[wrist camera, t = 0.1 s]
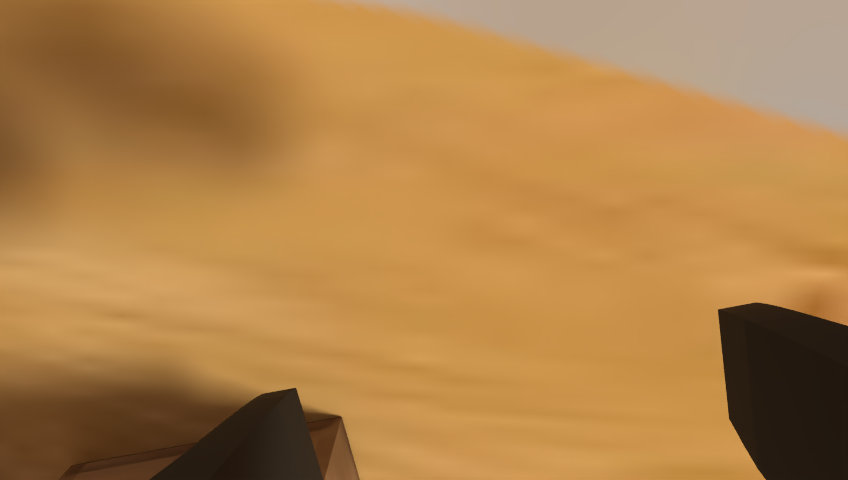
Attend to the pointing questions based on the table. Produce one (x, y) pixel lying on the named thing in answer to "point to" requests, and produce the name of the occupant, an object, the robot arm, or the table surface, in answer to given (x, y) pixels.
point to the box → (133, 472)
